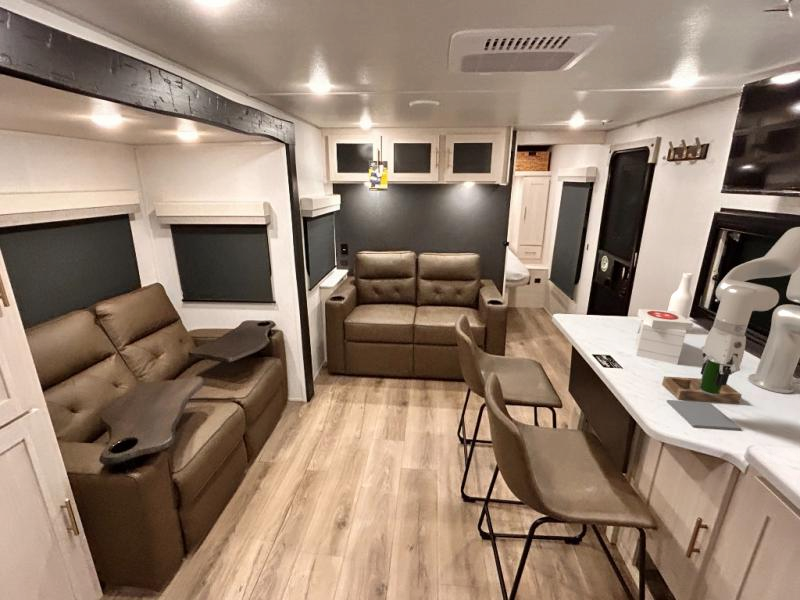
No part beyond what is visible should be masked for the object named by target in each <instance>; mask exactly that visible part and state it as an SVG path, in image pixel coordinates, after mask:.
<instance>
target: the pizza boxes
mask: <svg viewBox="0 0 800 600" xmlns="http://www.w3.org/2000/svg"><path fill="white" fill-rule="evenodd" d="M637 317H639V318H640V319H641V320H640V322H639V325H638V329H637V332H636V333H637V335H638V337H637V341H636V345H637V346H636V347H635V348H636V350H635V352H636V353H635V356H636V357H638V358H639V357H640V358H646V359H648V360H655V361H659V362H664V363H667V364H671V365H678V363H679V361H680V357H681V352H682V350H683V346H684V341H685V338H686V334H687V331H692V330H693V325H694V322H692V321H691V320H689V319H688V318H687V319H686V318H684V317H683V316H681V315H680V314H678V313H677V312H675V311H668V310H662V309H648V308H638V312H637Z"/></svg>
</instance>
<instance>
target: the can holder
mask: <svg viewBox="0 0 800 600" xmlns="http://www.w3.org/2000/svg"><path fill="white" fill-rule="evenodd" d="M700 381H701V378H696V377H683V376H681V377H679V376H677V377H676V376H663V379H662V383H661V385H662V386H663V388H665V389H666V390H667V391H669V393H670V394H671V395H672V396H674V397H675V398H676V399H677V400H678V401H694V402H710V403H711V402H713V403H729V404H730V403H731V404H739V403H740V401H741V398H742V396H743V395H742V393H740V392H739V391H737V390H736V389H734V388H733V387H732V386H731V385H729V384H727V383H726V385H723V386H722V389H721V392H720V393H719V394H718V395H716V396H714V395H709V394H706V393H703V392H702V391H700V389H699V385H700Z"/></svg>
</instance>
